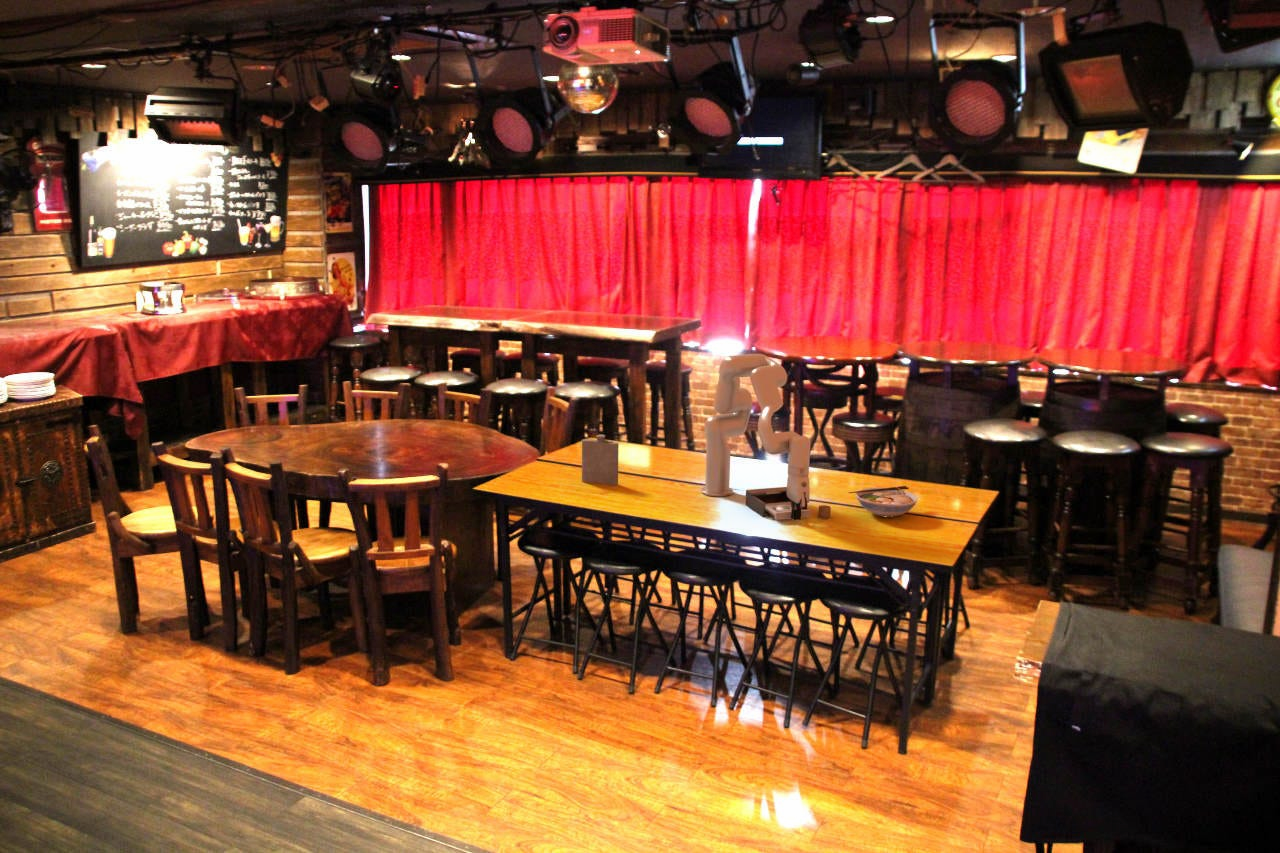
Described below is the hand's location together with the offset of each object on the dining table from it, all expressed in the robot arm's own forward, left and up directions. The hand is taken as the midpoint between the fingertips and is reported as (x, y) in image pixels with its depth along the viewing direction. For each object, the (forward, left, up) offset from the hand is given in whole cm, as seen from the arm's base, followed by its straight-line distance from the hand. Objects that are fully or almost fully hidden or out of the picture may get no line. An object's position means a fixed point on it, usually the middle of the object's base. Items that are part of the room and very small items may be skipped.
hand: (796, 519), depth 379 cm
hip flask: (-70, -54, -2) cm, 88 cm away
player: (-17, 0, -1) cm, 17 cm away
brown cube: (-3, +13, -1) cm, 13 cm away
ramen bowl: (0, +37, -2) cm, 37 cm away
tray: (-10, 0, 0) cm, 10 cm away
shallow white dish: (-8, 0, 0) cm, 8 cm away
